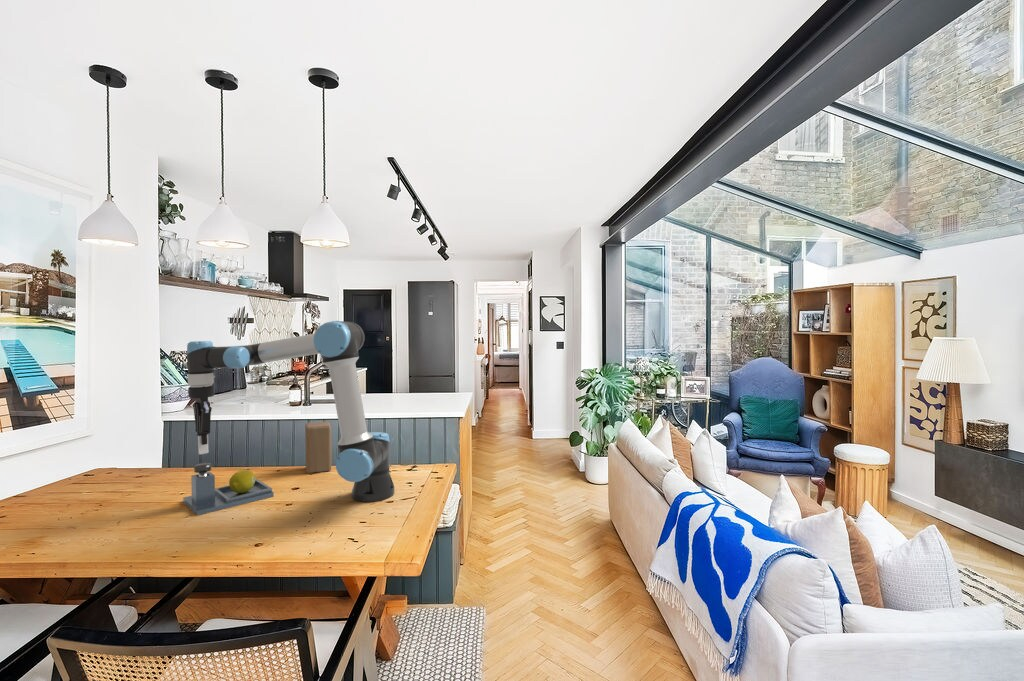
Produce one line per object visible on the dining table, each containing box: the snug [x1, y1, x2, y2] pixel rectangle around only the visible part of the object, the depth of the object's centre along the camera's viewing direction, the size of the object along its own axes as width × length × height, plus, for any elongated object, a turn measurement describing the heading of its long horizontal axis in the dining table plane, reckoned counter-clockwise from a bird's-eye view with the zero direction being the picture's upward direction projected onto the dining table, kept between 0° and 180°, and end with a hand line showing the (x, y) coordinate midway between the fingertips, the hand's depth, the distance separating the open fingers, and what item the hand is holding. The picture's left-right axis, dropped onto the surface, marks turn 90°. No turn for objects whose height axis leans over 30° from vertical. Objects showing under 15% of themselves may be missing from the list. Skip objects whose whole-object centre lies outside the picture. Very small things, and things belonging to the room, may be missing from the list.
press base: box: [182, 471, 275, 516], centre depth 171 cm, size 18×24×10 cm
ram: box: [193, 462, 212, 477], centre depth 165 cm, size 5×5×10 cm
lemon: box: [228, 469, 256, 493], centre depth 174 cm, size 11×8×8 cm
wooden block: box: [304, 421, 332, 474], centre depth 206 cm, size 10×10×20 cm
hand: (203, 453), depth 164 cm, fingers closed
